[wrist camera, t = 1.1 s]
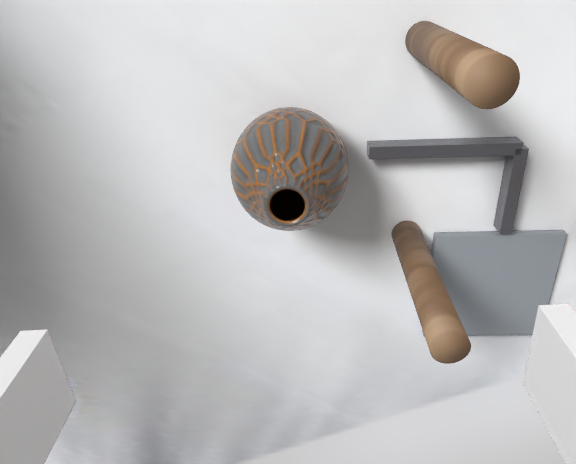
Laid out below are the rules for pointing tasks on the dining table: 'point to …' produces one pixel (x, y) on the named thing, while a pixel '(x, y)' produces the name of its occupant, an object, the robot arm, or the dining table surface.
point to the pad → (498, 277)
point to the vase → (289, 169)
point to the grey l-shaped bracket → (465, 148)
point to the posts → (406, 235)
